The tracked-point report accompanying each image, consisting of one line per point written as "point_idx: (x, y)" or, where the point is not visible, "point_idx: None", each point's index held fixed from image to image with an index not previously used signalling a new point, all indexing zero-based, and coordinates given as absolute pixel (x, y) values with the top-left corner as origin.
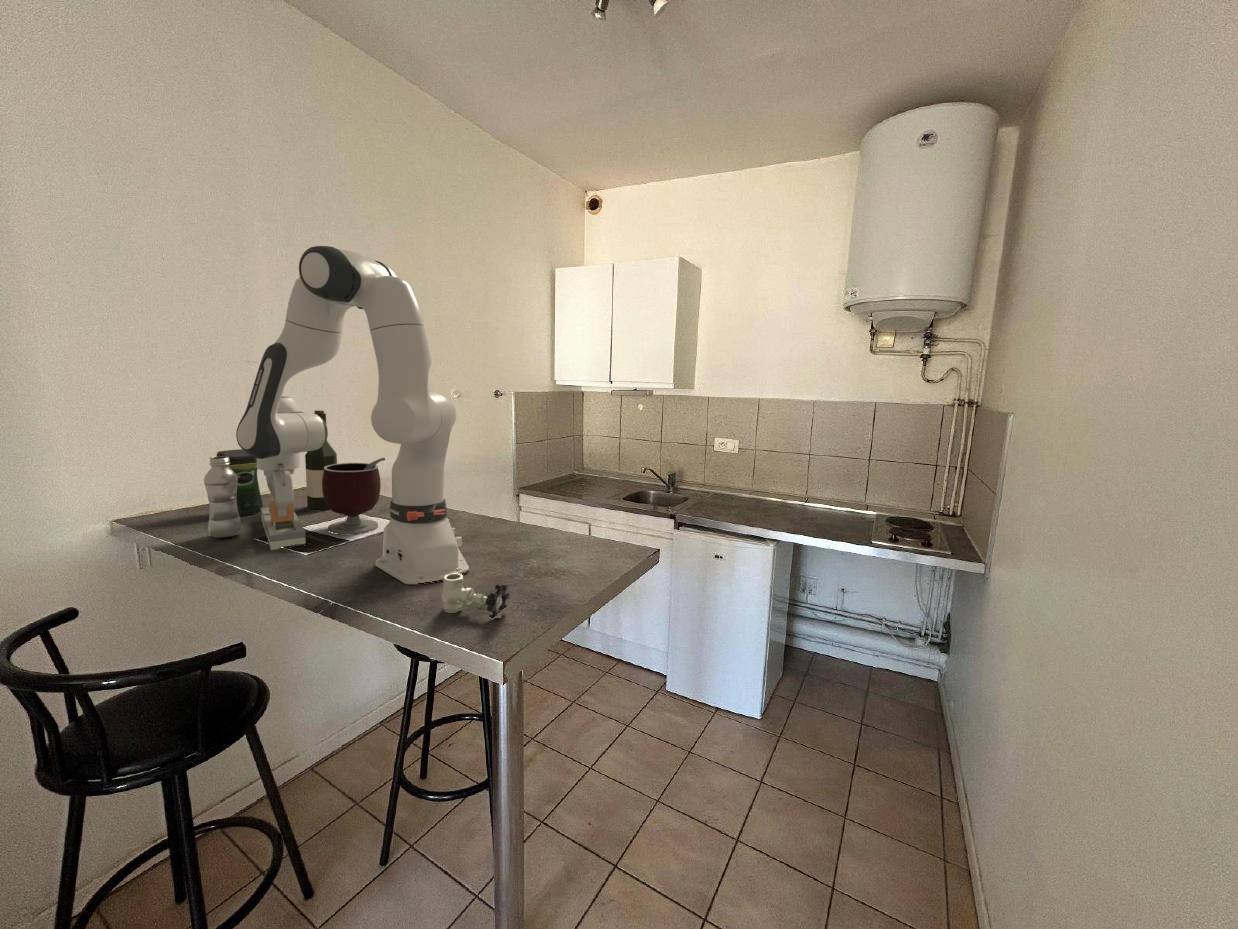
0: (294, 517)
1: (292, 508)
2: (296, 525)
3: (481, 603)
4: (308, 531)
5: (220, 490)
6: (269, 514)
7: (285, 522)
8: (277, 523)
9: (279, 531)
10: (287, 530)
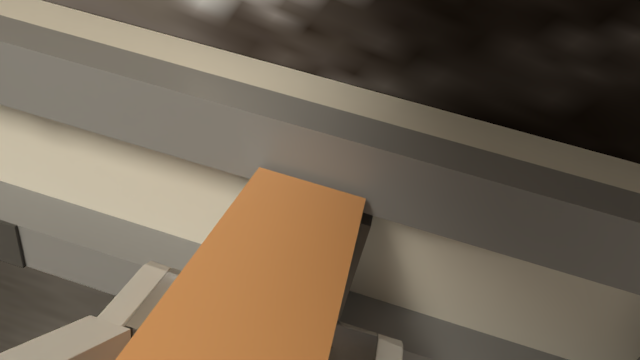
0: (211, 130)
1: (333, 319)
2: (563, 251)
3: None
4: (372, 8)
5: None
6: (16, 232)
7: (356, 261)
8: (342, 309)
9: (430, 292)
10: (449, 247)
